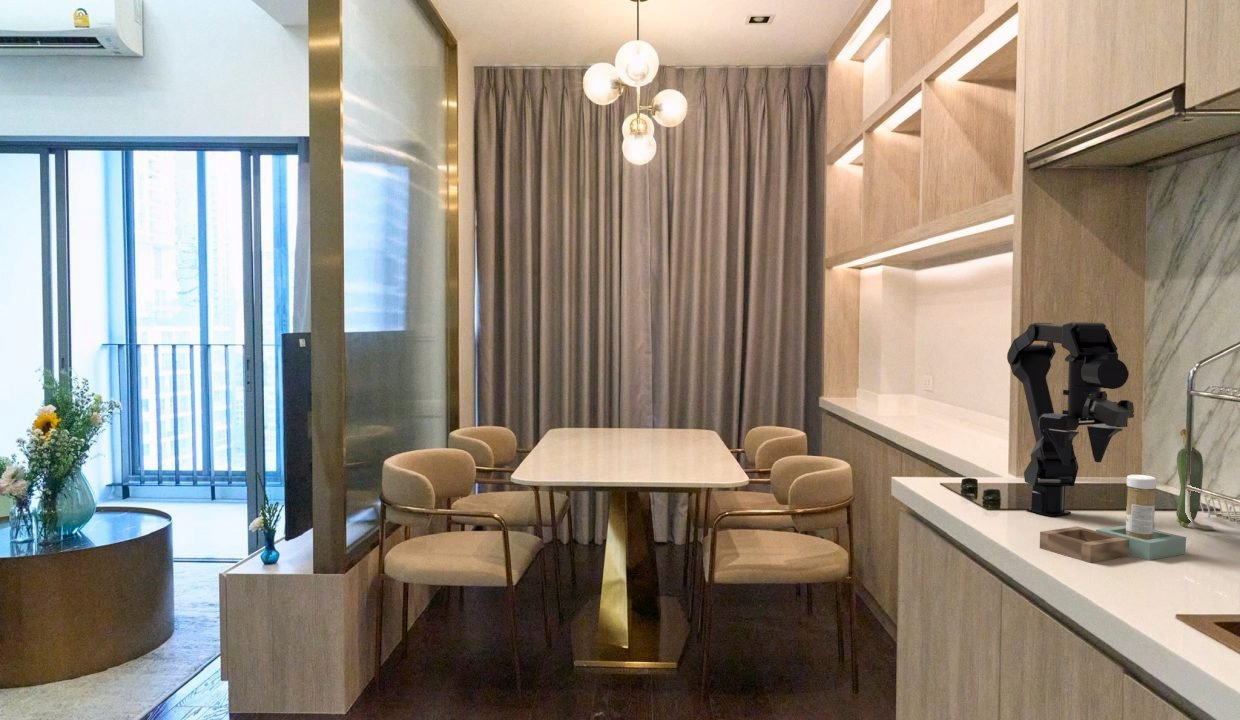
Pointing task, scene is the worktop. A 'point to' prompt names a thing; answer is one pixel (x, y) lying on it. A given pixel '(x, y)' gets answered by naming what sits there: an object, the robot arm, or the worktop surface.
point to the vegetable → (1194, 480)
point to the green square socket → (1151, 543)
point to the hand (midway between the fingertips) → (1082, 463)
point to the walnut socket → (1084, 544)
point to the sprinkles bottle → (1140, 506)
